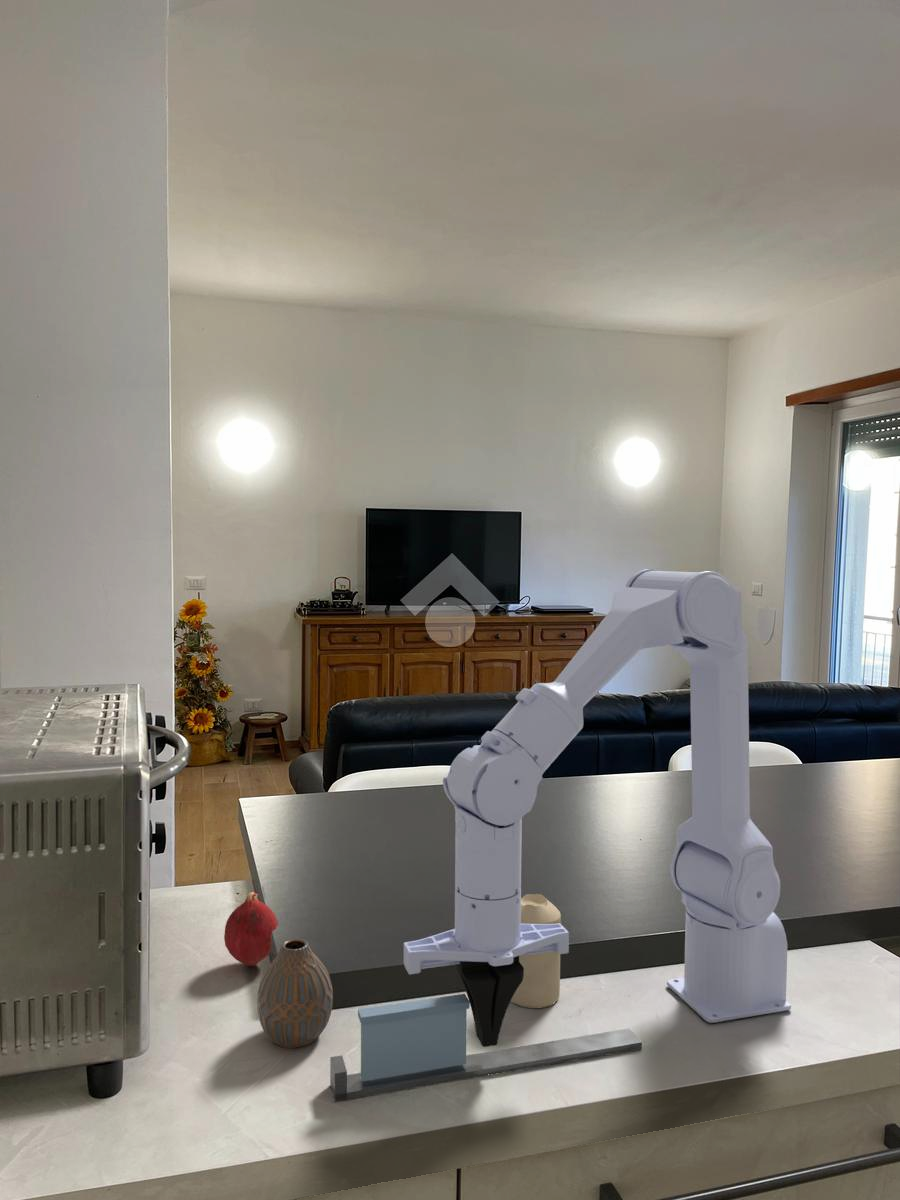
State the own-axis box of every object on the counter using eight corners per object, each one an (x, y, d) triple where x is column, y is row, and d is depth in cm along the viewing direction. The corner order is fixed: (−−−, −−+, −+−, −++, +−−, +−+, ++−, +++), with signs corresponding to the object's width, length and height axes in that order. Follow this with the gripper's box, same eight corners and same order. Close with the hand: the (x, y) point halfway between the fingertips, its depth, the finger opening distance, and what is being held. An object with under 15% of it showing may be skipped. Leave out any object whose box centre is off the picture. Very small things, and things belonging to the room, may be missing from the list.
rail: (629, 1034, 82) (629, 1009, 81) (641, 1048, 79) (642, 1023, 79) (330, 1084, 74) (330, 1057, 74) (334, 1101, 71) (334, 1073, 71)
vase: (328, 1012, 85) (328, 924, 85) (336, 1052, 79) (336, 957, 78) (256, 1021, 84) (255, 931, 83) (258, 1062, 77) (257, 965, 76)
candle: (557, 1011, 86) (558, 912, 85) (501, 1005, 87) (502, 907, 86) (561, 984, 91) (562, 890, 90) (509, 979, 92) (510, 886, 91)
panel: (464, 1055, 76) (464, 993, 76) (469, 1064, 75) (469, 1001, 75) (358, 1073, 74) (358, 1009, 74) (361, 1083, 72) (361, 1017, 72)
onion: (279, 976, 92) (279, 902, 92) (223, 981, 91) (222, 906, 91) (278, 951, 98) (278, 881, 98) (225, 956, 97) (224, 885, 96)
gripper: (418, 915, 70) (417, 1080, 70) (584, 896, 74) (582, 1052, 74) (398, 882, 76) (397, 1033, 77) (551, 867, 80) (549, 1010, 81)
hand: (486, 1040), depth 76 cm, fingers closed
